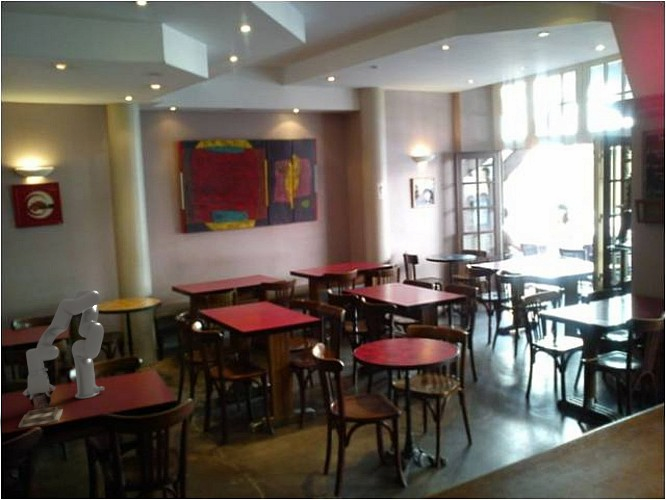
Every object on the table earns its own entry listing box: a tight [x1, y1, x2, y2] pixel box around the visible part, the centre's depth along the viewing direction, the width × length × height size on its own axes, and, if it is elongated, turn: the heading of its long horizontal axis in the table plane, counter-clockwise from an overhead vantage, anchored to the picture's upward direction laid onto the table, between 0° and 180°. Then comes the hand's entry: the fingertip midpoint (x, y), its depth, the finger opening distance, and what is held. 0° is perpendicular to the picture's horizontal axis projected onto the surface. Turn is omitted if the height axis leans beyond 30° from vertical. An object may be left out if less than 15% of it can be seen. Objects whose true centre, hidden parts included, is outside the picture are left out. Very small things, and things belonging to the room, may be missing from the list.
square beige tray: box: [18, 406, 64, 429], centre depth 308 cm, size 18×16×3 cm
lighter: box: [32, 393, 50, 410], centre depth 322 cm, size 8×3×10 cm, turn 148°
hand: (41, 404), depth 323 cm, fingers closed on lighter, 6 cm apart
